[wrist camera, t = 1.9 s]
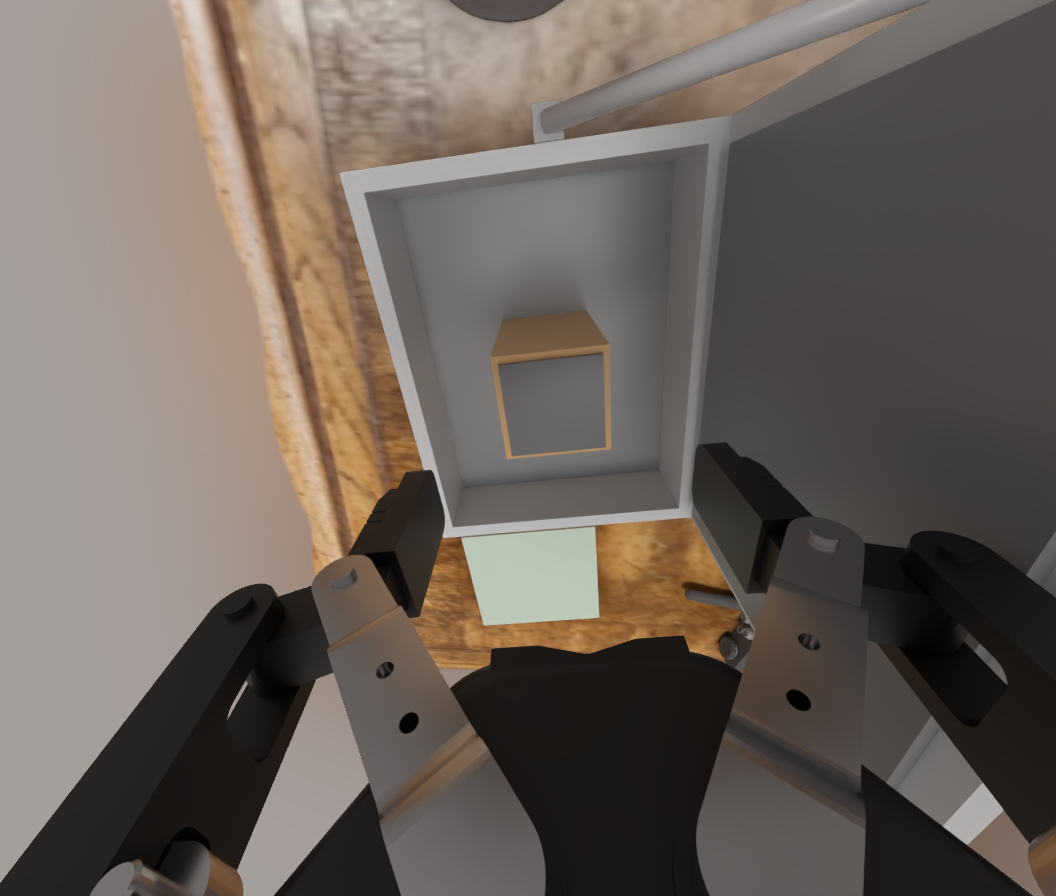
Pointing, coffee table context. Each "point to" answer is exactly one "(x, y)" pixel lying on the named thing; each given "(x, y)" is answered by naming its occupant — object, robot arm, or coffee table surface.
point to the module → (552, 385)
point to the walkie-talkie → (740, 639)
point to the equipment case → (767, 305)
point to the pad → (534, 575)
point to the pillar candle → (505, 8)
